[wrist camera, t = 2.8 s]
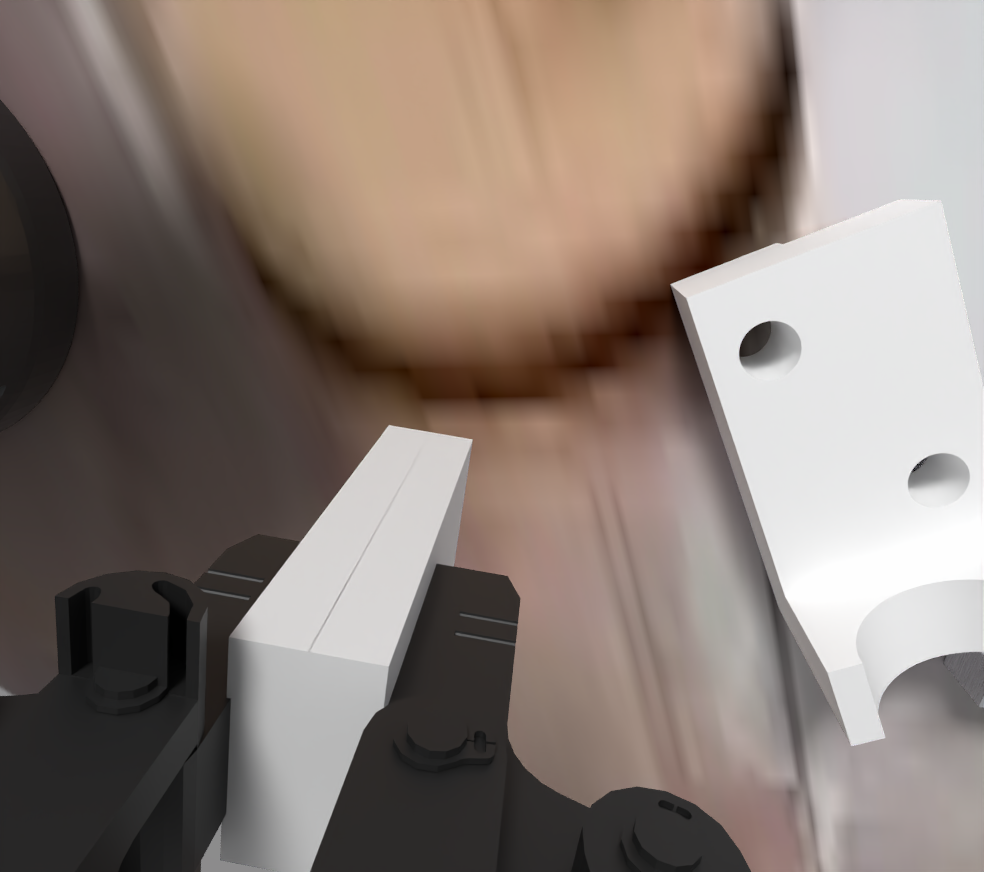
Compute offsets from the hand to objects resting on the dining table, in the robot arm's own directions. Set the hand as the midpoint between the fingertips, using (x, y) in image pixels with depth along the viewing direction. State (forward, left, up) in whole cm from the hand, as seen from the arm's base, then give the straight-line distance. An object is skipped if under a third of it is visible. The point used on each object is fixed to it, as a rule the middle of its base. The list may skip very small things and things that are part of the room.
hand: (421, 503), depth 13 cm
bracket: (+12, 0, -14) cm, 18 cm away
